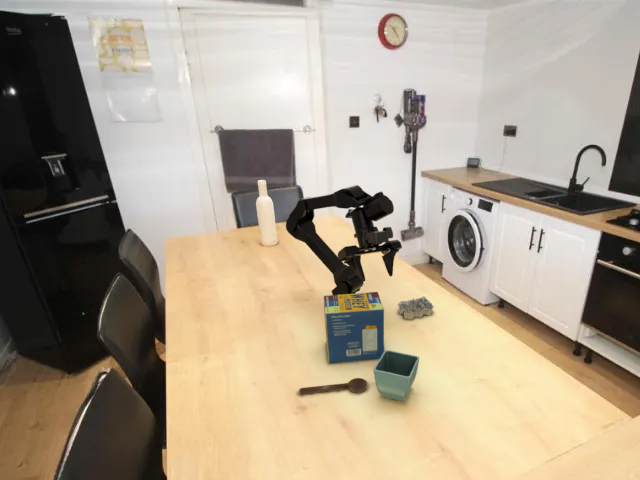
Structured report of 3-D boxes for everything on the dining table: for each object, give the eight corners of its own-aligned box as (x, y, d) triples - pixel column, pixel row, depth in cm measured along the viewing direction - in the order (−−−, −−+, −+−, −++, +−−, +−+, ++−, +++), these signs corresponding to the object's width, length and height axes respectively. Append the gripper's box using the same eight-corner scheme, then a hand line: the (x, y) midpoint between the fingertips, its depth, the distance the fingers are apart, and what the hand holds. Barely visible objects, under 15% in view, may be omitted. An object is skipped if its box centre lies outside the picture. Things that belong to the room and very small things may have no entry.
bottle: (275, 246, 195) (267, 182, 182) (259, 246, 195) (250, 182, 182) (279, 240, 202) (272, 178, 189) (263, 240, 202) (255, 178, 189)
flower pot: (418, 386, 101) (420, 355, 97) (409, 409, 94) (410, 377, 90) (385, 378, 104) (385, 349, 100) (373, 401, 96) (372, 369, 92)
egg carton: (405, 321, 130) (405, 310, 128) (396, 310, 137) (396, 299, 135) (435, 314, 134) (435, 303, 132) (424, 304, 140) (425, 294, 138)
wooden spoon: (299, 399, 97) (298, 395, 96) (299, 387, 101) (299, 382, 100) (368, 392, 99) (368, 387, 99) (365, 380, 103) (365, 375, 103)
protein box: (326, 343, 119) (323, 295, 112) (378, 338, 121) (378, 291, 114) (328, 364, 109) (324, 313, 103) (384, 358, 112) (384, 308, 105)
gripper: (347, 219, 107) (362, 276, 106) (404, 214, 117) (419, 266, 115) (331, 234, 117) (344, 286, 115) (385, 228, 126) (399, 276, 125)
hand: (377, 278), depth 117 cm, fingers open, 9 cm apart
